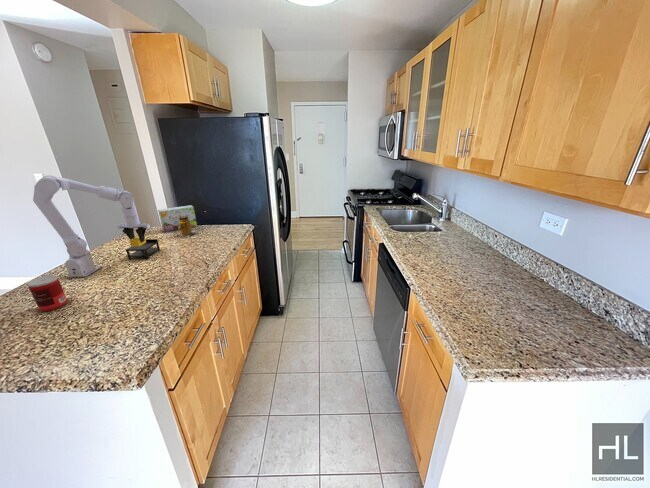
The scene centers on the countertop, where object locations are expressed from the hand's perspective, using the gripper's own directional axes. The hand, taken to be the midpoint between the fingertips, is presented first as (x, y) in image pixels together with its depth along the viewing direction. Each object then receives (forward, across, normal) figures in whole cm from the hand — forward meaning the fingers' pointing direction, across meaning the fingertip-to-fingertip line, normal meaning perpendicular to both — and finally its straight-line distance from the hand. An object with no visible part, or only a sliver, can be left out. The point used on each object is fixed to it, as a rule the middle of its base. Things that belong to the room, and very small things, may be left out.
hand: (138, 241), depth 133 cm
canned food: (+10, +8, +42) cm, 44 cm away
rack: (+10, +2, -5) cm, 11 cm away
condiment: (+10, -7, -38) cm, 40 cm away
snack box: (+10, +5, -51) cm, 52 cm away
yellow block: (+2, 0, 0) cm, 2 cm away
